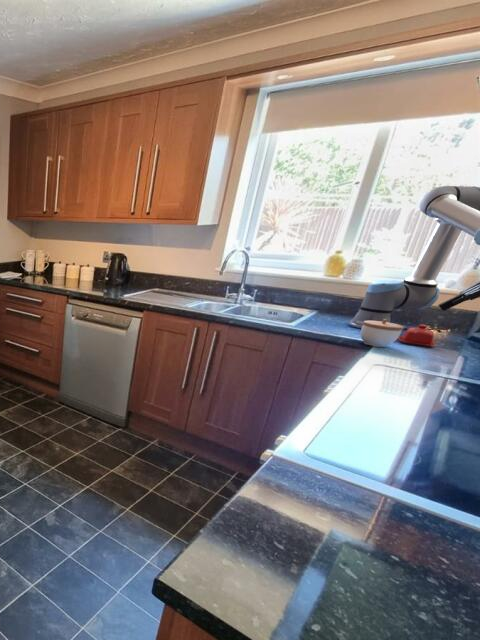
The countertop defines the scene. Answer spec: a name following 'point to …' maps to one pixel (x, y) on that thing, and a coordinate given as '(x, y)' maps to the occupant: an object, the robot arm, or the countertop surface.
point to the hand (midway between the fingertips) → (440, 307)
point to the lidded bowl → (380, 333)
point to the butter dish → (418, 336)
